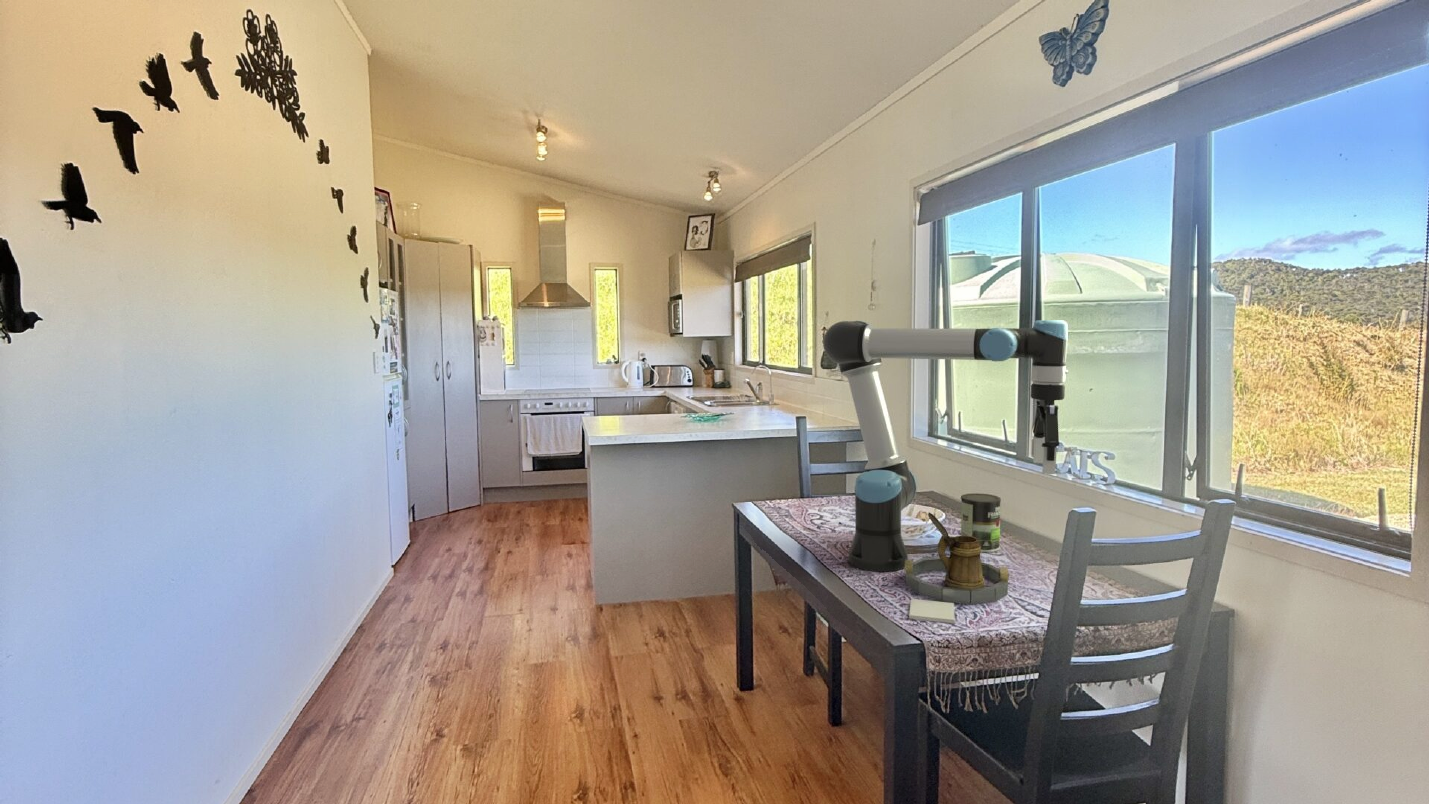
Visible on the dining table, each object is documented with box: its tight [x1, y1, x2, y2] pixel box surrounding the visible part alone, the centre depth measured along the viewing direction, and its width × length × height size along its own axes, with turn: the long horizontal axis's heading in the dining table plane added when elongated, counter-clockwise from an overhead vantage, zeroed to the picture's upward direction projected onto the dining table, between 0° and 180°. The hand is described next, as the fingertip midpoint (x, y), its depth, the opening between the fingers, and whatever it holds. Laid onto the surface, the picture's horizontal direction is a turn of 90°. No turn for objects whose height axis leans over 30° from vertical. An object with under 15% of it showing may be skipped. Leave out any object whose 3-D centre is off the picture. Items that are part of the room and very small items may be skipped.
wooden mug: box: [927, 511, 986, 589], centre depth 160 cm, size 9×14×18 cm, turn 93°
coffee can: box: [960, 492, 1002, 553], centre depth 188 cm, size 10×10×14 cm
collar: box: [904, 556, 1010, 605], centre depth 160 cm, size 23×22×5 cm
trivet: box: [908, 598, 956, 624], centre depth 145 cm, size 9×9×1 cm
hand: (1043, 468), depth 169 cm, fingers open, 13 cm apart
